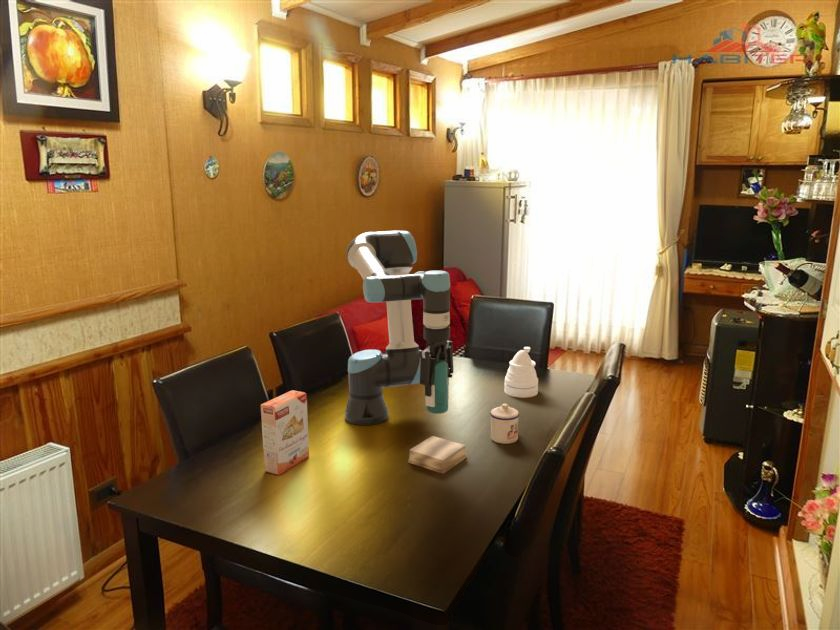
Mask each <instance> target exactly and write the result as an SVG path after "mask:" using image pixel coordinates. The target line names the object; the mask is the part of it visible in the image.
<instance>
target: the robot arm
mask: <svg viewBox="0 0 840 630" xmlns="http://www.w3.org/2000/svg"><path fill="white" fill-rule="evenodd" d="M345 255H346V260H347V261H348V263H349V265H350V266H351V267H352V268H353V269H355V270H357V272H358V274H359V275H360V276H361V279H362V280H363V282H362V293H363V296H364V297H363V298H364V300H365V302H366V303H378V304H379V303H386V313H387V327H388V328H387V329H388V339H389V343H388V345H387V346H386V347H385V353H382V351H381V350H379V349H375V348H374V349H364V350H359V351H357V352H355V353H353V354H351V355H350V356H349V358H348V360H347V372H348V400H347V403H346V408H345V411H344V419H345V421H346V422H348V423H350V424H353V425H359V426H371V425H377V424H380V423H383V422H384V421H386V420H387V419H388V418H389V408H388V406H387V404H386V401H385V398H384V393H383V389H384V388H390V387H391V388H392V387H399V386H410V385H416V384H420V385H423V386H424V395H425V396H424V397H425V406H426V407H427V406H430V407H435V385H433V380H434V374H435V366H436V363H437V362H438V360H439V359H442V360H444V361H445V362H446V363H447V364H448V366H447V368H448V400H450V399H449V395H450V394H449V393H450V392H449V391H450V389H449V385H450V379H451V378H453V373H454V356H453V348H454V347H453V346H454V342H453V341H452V340H450V338H451V326H449V325H450V324H451V316H450V315H451V314H450V311H451V309H450V307H451V281H450V280H451V279H450V277H451V276H450V273H449V272H448V271H445V270H433V269H432V270H428V271H423V270H421V271H416V272H414V273H410V272H411V271H412V269H413V264H415V263H416V262H417V261H418V250H417V245H416V240H415V238H414V237H413V235H412V233H411V232H410V231H408V230H385V231H384V230H382V231H380V230H379V231H367V232H363V233H360V234H358V235H356V236H355V237H354V238H353V239H352V240H351V241H350V242H349V243H348V245H347V248H346V254H345ZM413 300H422V301H423V302H422V303H423V308H422V312H423V313H422V315H423V316H422V318H423V319H422V322H423V323H422V324H423V339H424V340H425V341H426V345H425V349H424V350H421V349H420V348H419V344H418V343H416V341H415V338H414V324H413V315H412V312H413V311H412V301H413ZM441 350H443V351H444V357H443V358H439V355H440V353H441Z"/></svg>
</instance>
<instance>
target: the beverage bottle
mask: <svg viewBox="0 0 840 630" xmlns="http://www.w3.org/2000/svg"><path fill="white" fill-rule="evenodd" d="M443 357H444V351H443V350H441V353H440V355H439V358H443ZM447 366H448V364H447V363H446V362H445V361H444V360H442V359H439V360H438V362H437V363H436V366H435V374H434V380H433V385H435V407H430V406H426V410H427V412H428V413H431V414H438V415H439V414H444V413H447V412H448V411H449V410H448V409H449V404H450V403H449V399H448V368H447Z"/></svg>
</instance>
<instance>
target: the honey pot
mask: <svg viewBox="0 0 840 630" xmlns="http://www.w3.org/2000/svg"><path fill="white" fill-rule="evenodd" d="M530 351H531V347H530V346H524V347H523V349H520V350H519V351H517V352H516V353H515V354H514V356H513V358H512V359H511V360H510V361H509V362H508V363H509V367H508V369H507V372H506V375H505V377H504V390H503V391H504V393H505V394H506V395H508V396H510V397H513V398H514V397H515V398H523V399H524V398H525V399H526V398H533V397H535V396H537V395H538V393H539V377H537V371H536V369H535V366H536V361H534V360H532V358H531V357H530V355H529V353H530Z"/></svg>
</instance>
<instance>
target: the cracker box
mask: <svg viewBox="0 0 840 630" xmlns="http://www.w3.org/2000/svg"><path fill="white" fill-rule="evenodd" d="M307 398H308V394H307V393H306V392H304V391H300V390H299V391H297V390H294V389H292V390H290V391H287V392H285V393H283V394H281V395H279V396H277V397H273V398H272V399H270V400H268V401H266V402H263V403H261V404H260V417H261V433H262V451H263V463H264V464H263V465H264V472H267V473H270V474H273V475H275V476H281V475H282V474H283V473H285V472H287V471H288V470H290V469H292V468H294V467H295V466H297V464H300V463H301V462H303V461H304V460H306V459H307V458H309V457H310V447H309V444H310V443H309V425H308V424H309V423H308V422H309V420H308V399H307Z"/></svg>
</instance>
